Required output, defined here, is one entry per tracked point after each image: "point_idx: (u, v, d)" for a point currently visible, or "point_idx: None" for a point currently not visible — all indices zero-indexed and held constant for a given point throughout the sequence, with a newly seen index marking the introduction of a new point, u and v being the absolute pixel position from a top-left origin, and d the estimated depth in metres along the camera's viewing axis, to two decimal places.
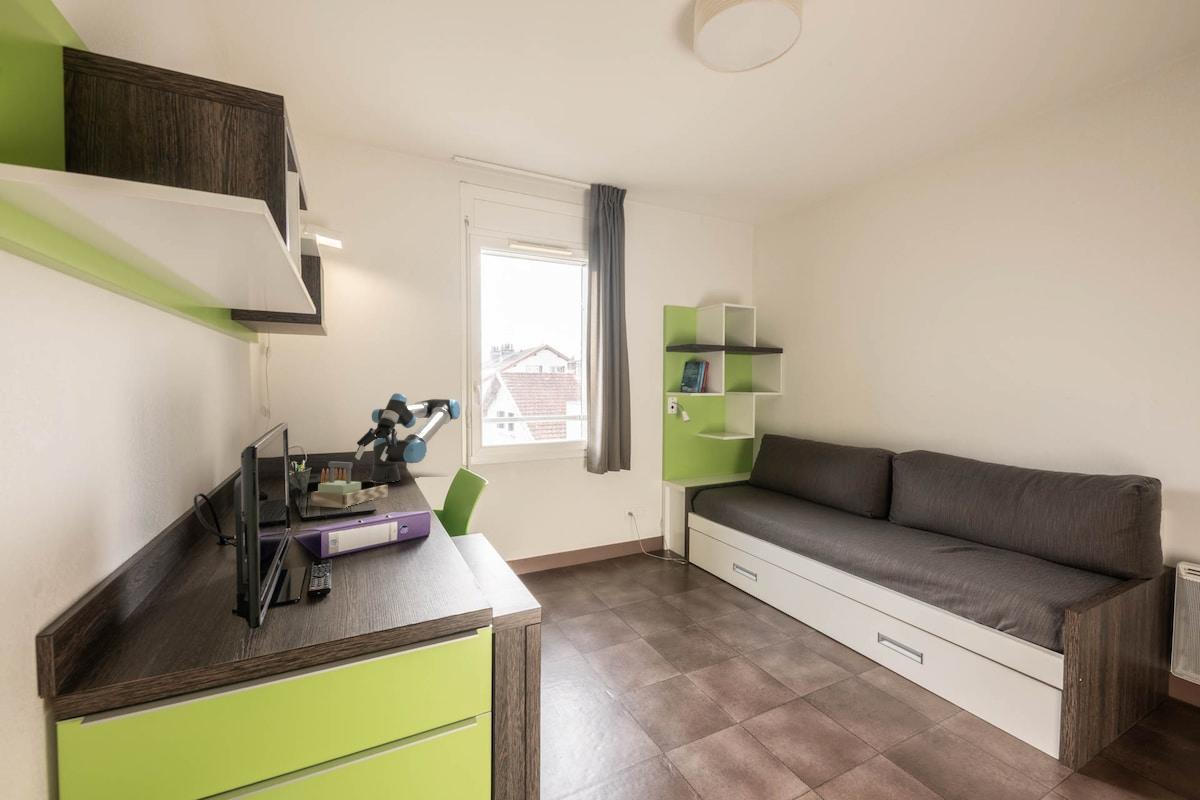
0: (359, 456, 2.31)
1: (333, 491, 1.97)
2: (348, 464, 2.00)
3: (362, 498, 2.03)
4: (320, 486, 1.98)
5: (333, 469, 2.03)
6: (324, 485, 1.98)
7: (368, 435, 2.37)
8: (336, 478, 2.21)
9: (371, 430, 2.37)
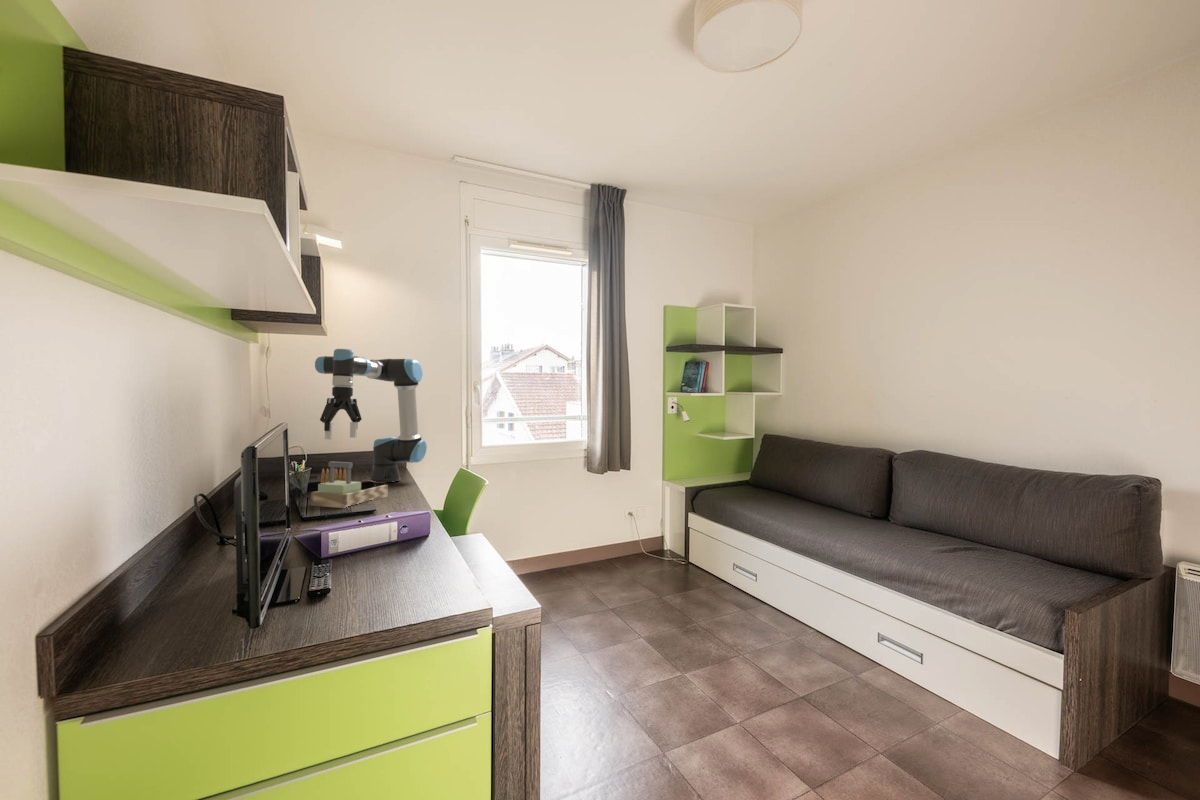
0: None
1: (333, 491, 1.97)
2: (348, 464, 2.00)
3: (362, 498, 2.03)
4: (320, 486, 1.98)
5: (333, 469, 2.03)
6: (324, 485, 1.98)
7: None
8: (336, 478, 2.21)
9: (334, 401, 1.97)
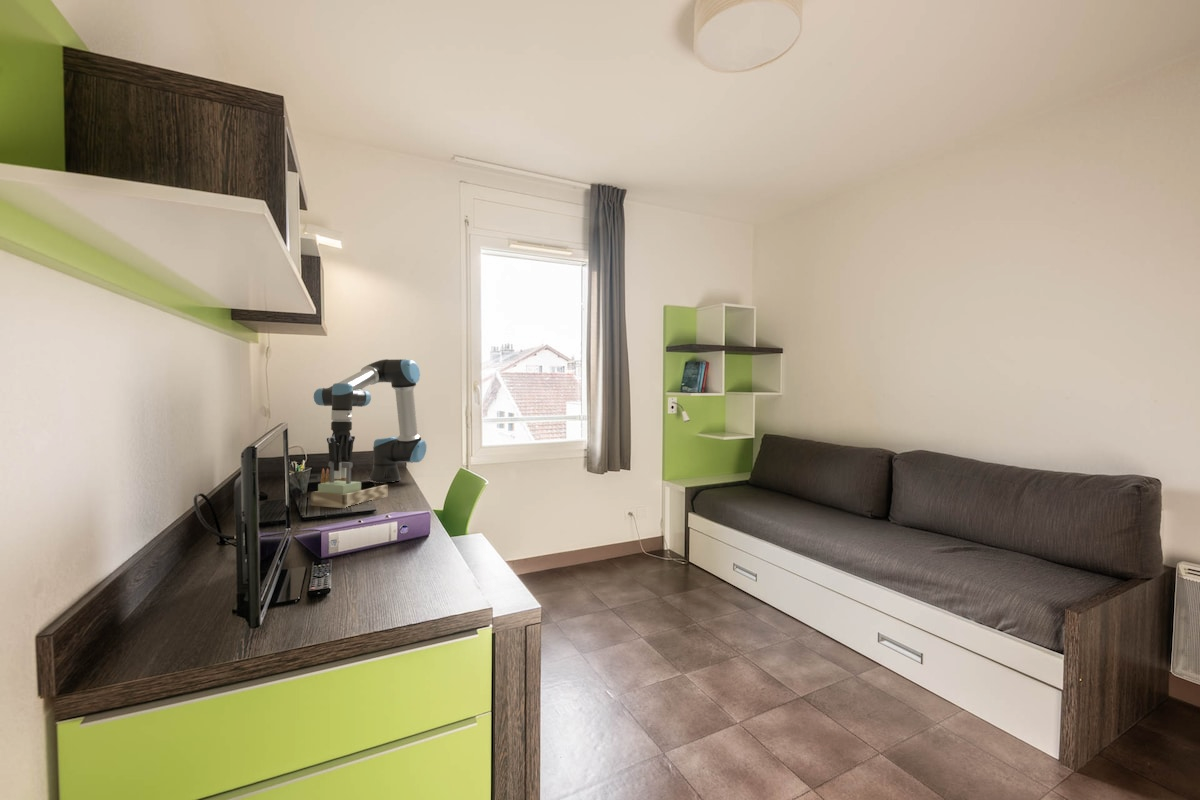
0: None
1: (333, 491, 1.97)
2: (348, 464, 2.00)
3: (362, 498, 2.03)
4: (320, 486, 1.98)
5: (333, 469, 2.03)
6: (324, 485, 1.98)
7: None
8: None
9: (334, 440, 1.97)
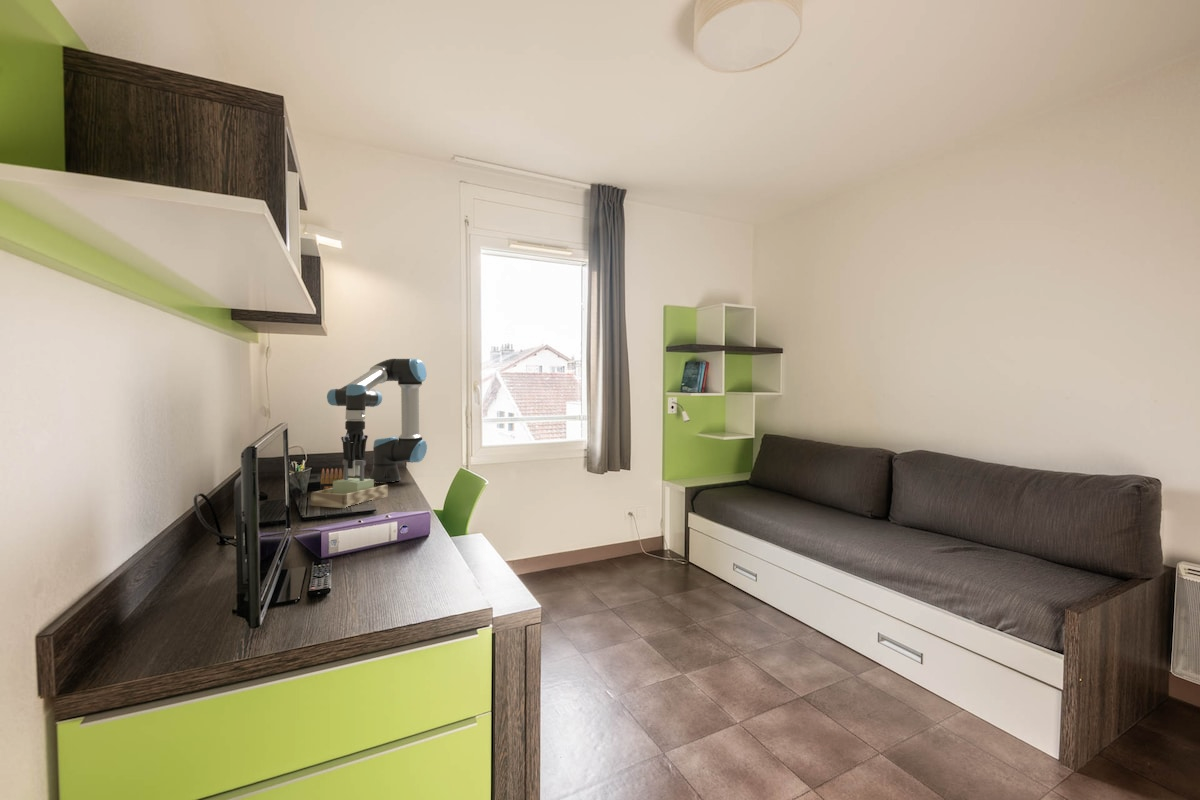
0: None
1: (348, 488, 2.04)
2: (361, 462, 2.07)
3: (362, 498, 2.03)
4: (335, 483, 2.06)
5: (347, 467, 2.10)
6: (339, 482, 2.05)
7: None
8: (336, 478, 2.21)
9: (349, 439, 2.05)
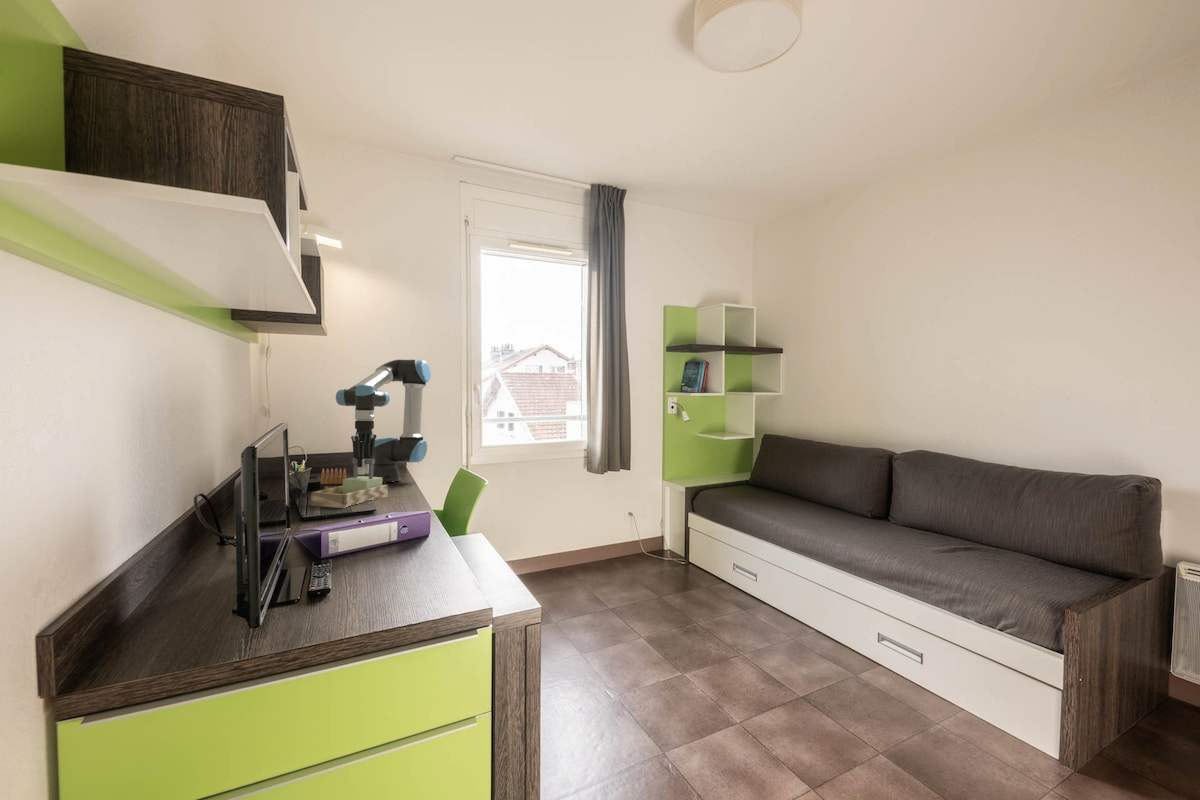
0: None
1: (357, 486, 2.10)
2: (371, 461, 2.13)
3: (362, 498, 2.03)
4: (345, 481, 2.11)
5: (356, 465, 2.16)
6: (348, 481, 2.11)
7: None
8: (336, 478, 2.21)
9: (358, 438, 2.10)
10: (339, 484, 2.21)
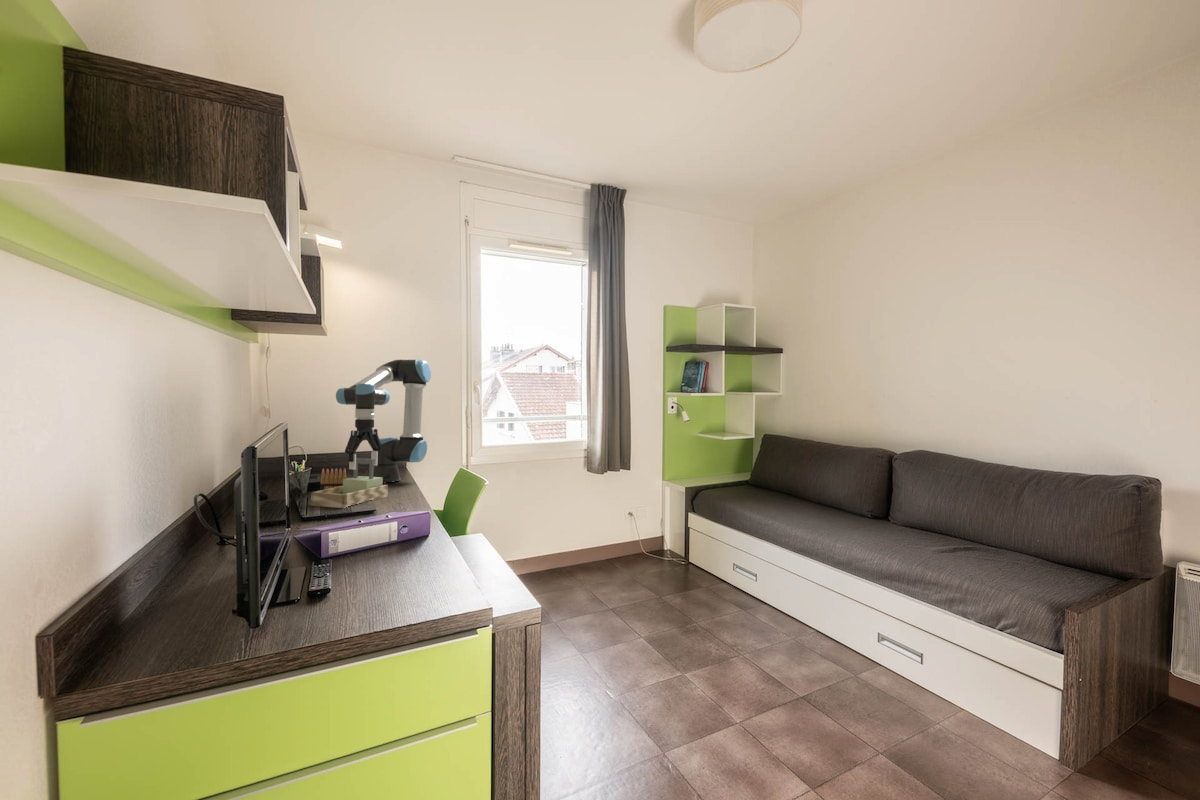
0: None
1: (357, 486, 2.10)
2: (371, 460, 2.13)
3: (362, 498, 2.03)
4: (345, 481, 2.11)
5: (356, 465, 2.16)
6: (349, 480, 2.11)
7: None
8: (336, 478, 2.21)
9: (357, 434, 2.10)
10: (339, 484, 2.21)
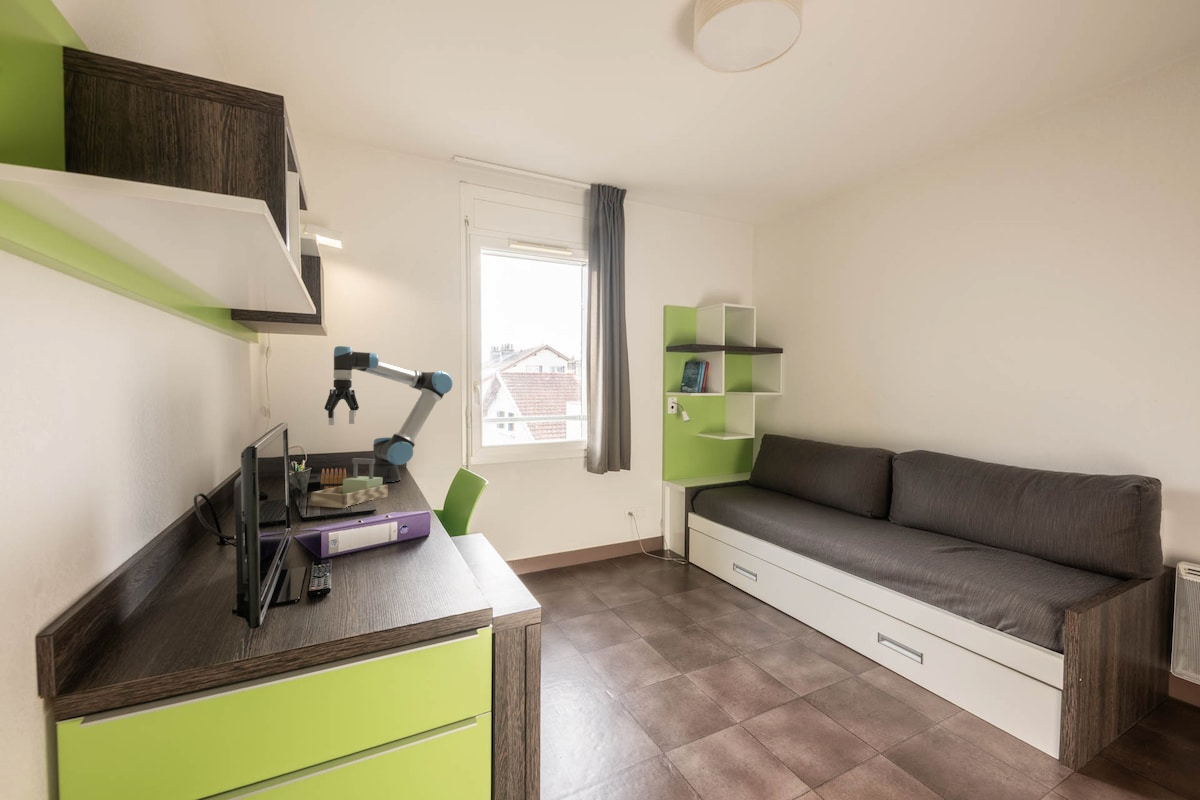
0: None
1: (357, 486, 2.10)
2: (371, 460, 2.13)
3: (362, 498, 2.03)
4: (345, 481, 2.11)
5: (356, 465, 2.16)
6: (349, 480, 2.11)
7: None
8: (336, 478, 2.21)
9: (336, 392, 2.26)
10: (339, 484, 2.21)
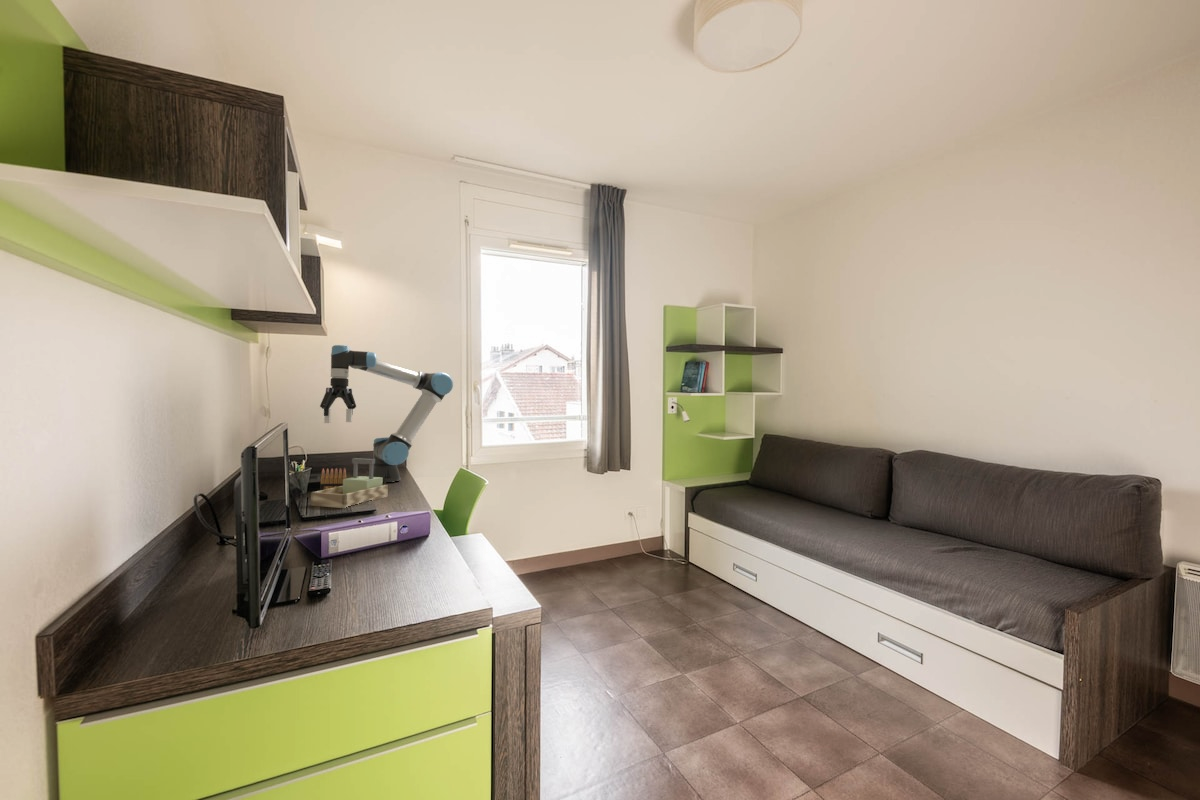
0: None
1: (357, 486, 2.10)
2: (371, 460, 2.13)
3: (362, 498, 2.03)
4: (345, 481, 2.11)
5: (356, 465, 2.16)
6: (349, 480, 2.11)
7: None
8: (336, 478, 2.21)
9: (332, 390, 2.28)
10: (339, 484, 2.21)
